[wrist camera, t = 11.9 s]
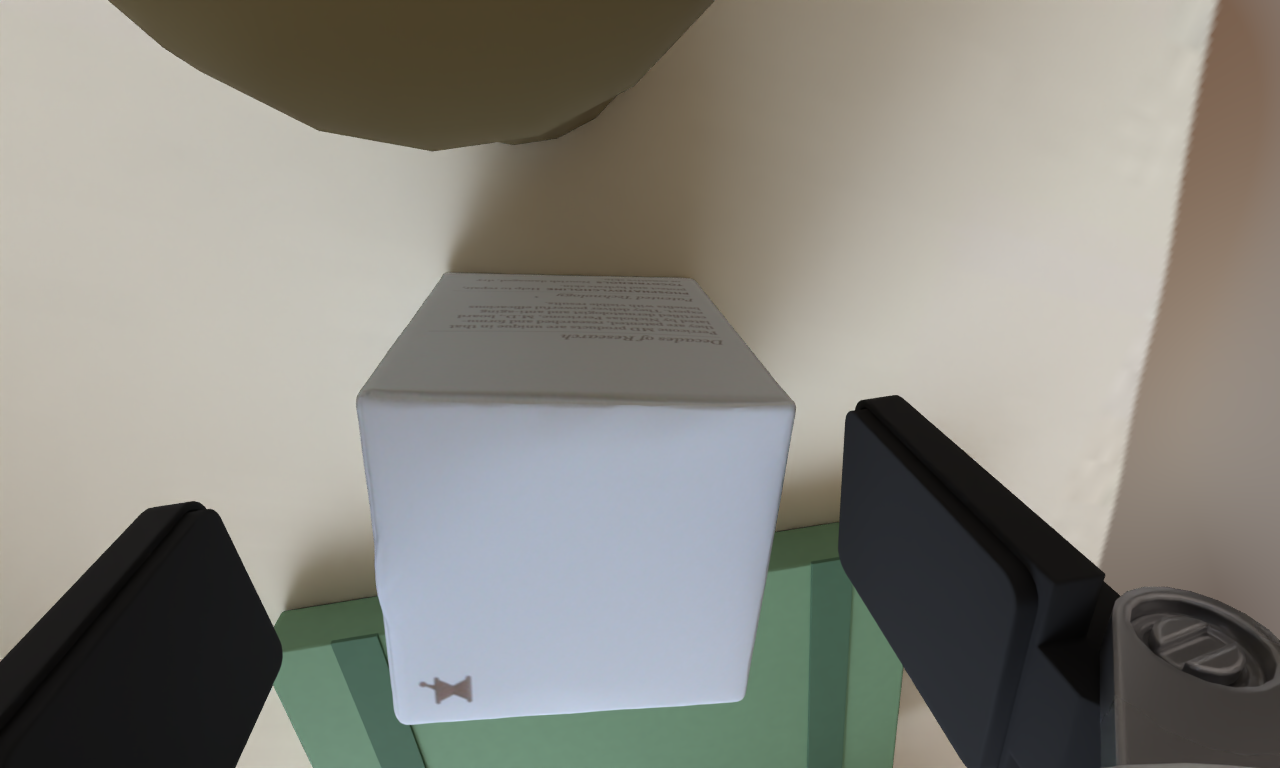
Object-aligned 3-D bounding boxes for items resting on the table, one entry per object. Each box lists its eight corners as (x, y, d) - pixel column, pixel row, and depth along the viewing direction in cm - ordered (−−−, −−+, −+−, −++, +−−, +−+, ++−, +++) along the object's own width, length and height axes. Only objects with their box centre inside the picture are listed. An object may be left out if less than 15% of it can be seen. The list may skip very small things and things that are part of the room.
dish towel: (280, 608, 18) (254, 656, 16) (890, 511, 19) (919, 546, 17) (377, 827, 22) (364, 881, 20) (871, 734, 23) (894, 779, 22)
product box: (674, 486, 18) (748, 714, 11) (452, 488, 17) (385, 738, 10) (697, 272, 15) (808, 399, 9) (438, 262, 14) (340, 396, 8)
